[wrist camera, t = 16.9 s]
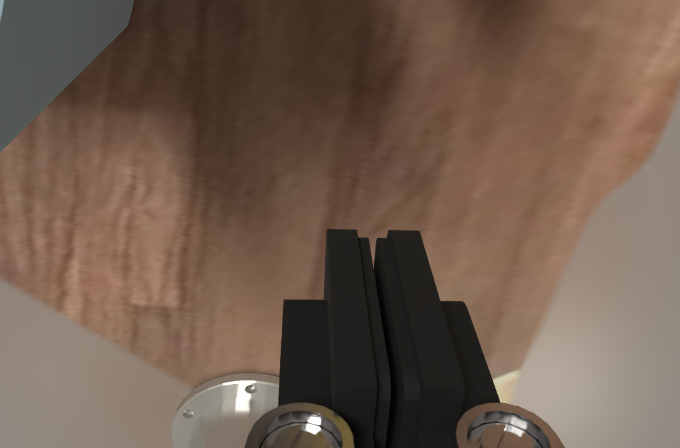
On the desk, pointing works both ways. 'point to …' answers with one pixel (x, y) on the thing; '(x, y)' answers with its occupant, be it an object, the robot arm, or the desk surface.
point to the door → (49, 51)
